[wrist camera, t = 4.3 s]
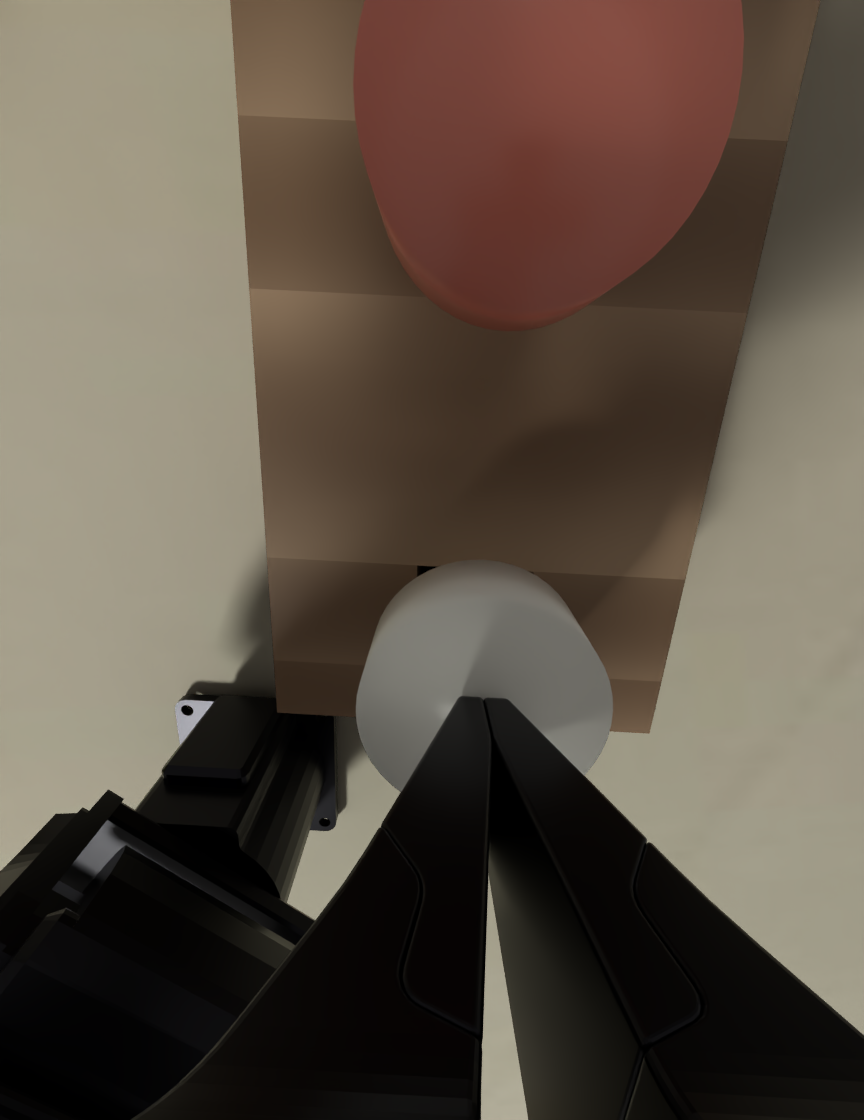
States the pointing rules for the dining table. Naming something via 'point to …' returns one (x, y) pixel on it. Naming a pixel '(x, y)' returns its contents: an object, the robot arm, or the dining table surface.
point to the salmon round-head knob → (540, 141)
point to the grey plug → (479, 664)
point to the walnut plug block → (479, 379)
